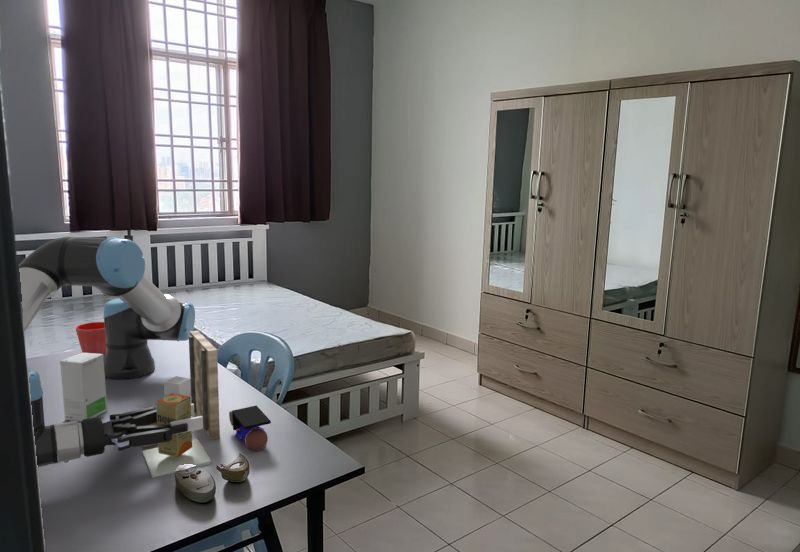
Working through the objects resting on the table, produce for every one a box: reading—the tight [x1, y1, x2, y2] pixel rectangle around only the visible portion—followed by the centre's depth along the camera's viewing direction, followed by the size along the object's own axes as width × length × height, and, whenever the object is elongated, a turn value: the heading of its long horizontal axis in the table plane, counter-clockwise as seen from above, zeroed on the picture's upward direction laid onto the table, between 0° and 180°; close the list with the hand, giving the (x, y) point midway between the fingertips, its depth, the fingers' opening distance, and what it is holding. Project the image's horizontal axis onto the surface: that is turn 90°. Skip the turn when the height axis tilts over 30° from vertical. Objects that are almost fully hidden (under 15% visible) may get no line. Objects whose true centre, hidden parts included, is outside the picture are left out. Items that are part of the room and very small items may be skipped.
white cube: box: [163, 375, 191, 398], centre depth 161 cm, size 5×5×5 cm
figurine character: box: [228, 405, 272, 451], centre depth 137 cm, size 7×8×15 cm
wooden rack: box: [143, 330, 221, 448], centre depth 139 cm, size 18×16×22 cm
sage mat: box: [142, 438, 212, 479], centre depth 128 cm, size 12×12×1 cm
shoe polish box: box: [155, 393, 193, 457], centre depth 127 cm, size 5×5×12 cm
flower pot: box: [75, 321, 106, 356], centre depth 195 cm, size 11×11×10 cm
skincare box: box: [59, 352, 108, 423], centre depth 147 cm, size 8×7×16 cm
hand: (197, 415), depth 129 cm, fingers closed on shoe polish box, 7 cm apart
